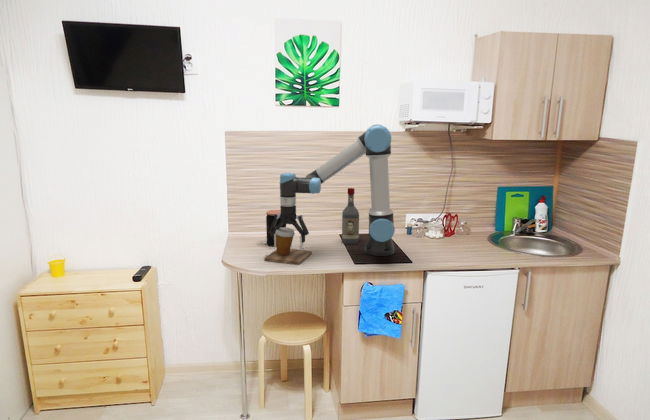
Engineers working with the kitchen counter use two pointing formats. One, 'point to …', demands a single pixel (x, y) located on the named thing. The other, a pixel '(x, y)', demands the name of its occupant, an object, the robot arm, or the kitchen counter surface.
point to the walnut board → (289, 257)
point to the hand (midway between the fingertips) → (288, 247)
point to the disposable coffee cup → (284, 240)
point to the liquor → (350, 221)
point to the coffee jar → (269, 222)
